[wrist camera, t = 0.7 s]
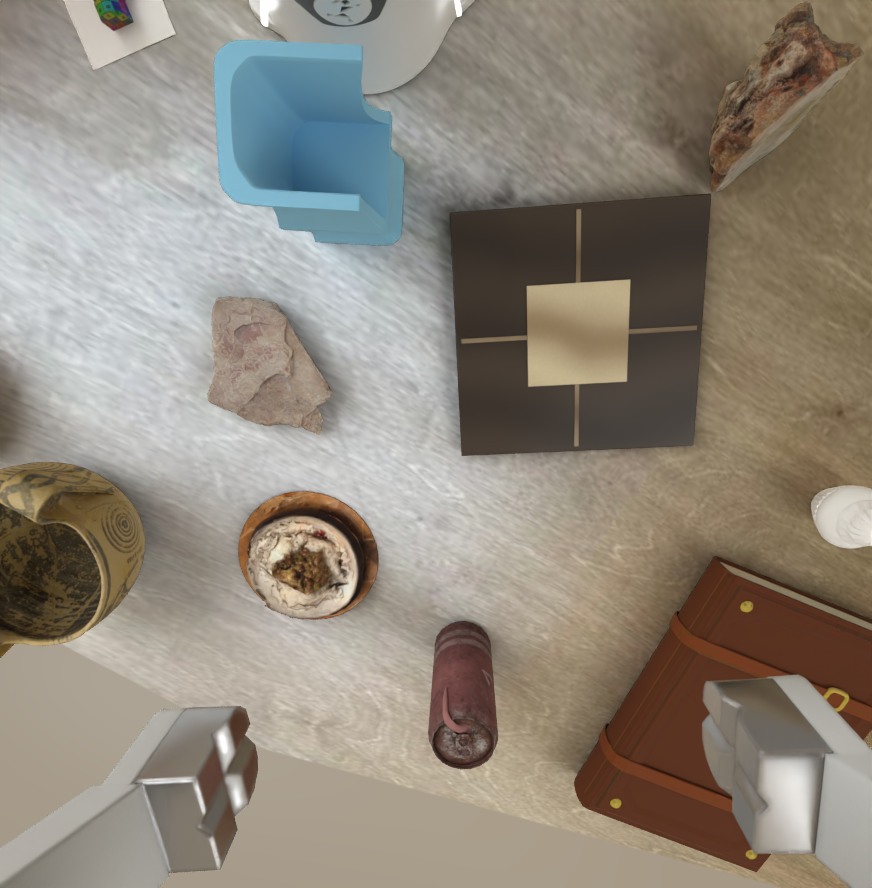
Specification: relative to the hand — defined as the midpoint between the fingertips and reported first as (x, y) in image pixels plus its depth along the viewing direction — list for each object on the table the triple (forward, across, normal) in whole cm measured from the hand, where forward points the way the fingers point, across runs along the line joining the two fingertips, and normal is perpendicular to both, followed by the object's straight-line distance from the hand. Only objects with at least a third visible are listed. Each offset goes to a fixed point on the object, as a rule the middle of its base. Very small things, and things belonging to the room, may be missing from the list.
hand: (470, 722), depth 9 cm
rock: (+43, -24, -18) cm, 53 cm away
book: (+43, -26, +40) cm, 64 cm away
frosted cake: (+43, +18, +18) cm, 50 cm away
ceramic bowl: (+43, +41, +11) cm, 61 cm away
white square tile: (+43, +26, -34) cm, 61 cm away
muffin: (+43, -35, +16) cm, 58 cm away
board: (+43, -11, -3) cm, 44 cm away
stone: (+43, +18, -2) cm, 47 cm away
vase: (+43, +8, -17) cm, 47 cm away
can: (+43, +3, +29) cm, 52 cm away
